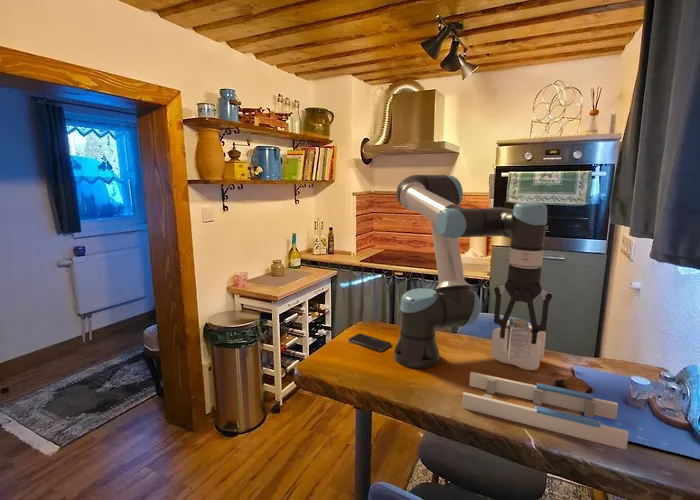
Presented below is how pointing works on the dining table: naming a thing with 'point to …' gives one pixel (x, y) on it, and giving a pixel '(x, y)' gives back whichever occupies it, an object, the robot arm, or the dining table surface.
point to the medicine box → (518, 340)
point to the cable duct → (545, 416)
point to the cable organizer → (531, 363)
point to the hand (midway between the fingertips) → (516, 352)
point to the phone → (370, 342)
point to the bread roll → (574, 385)
